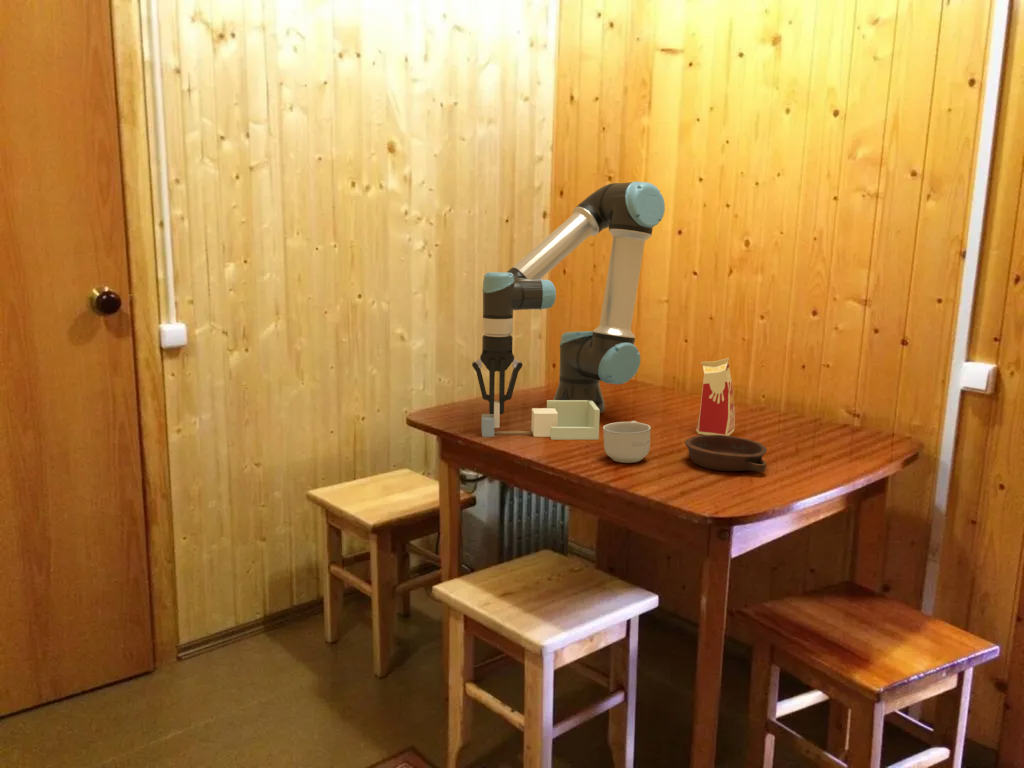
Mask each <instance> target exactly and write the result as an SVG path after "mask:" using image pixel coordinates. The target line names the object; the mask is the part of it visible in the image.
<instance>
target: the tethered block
mask: <svg viewBox="0 0 1024 768" xmlns="http://www.w3.org/2000/svg"><path fill="white" fill-rule="evenodd" d="M530 422H531V425H530V426H531V427H530V430H495V428H494V416H493V414H490V413H481V425H480V427H481V431H480V432H481V437H483V438H491V437H493V438H494V437H495V435H500V436H501V435H502V434H503V435H505V436H506V435H507V436H509V435H527V436H528V435H532V436H533V437H534V438H536V437H540V438H541V437H543V438H545V437H550V438H551V427H558V413H557V411H556V409H555V408H547V407H543V408H542V407H541V408H536V407H535V408H531V421H530Z"/></svg>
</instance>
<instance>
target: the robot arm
mask: <svg viewBox="0 0 1024 768" xmlns="http://www.w3.org/2000/svg"><path fill="white" fill-rule="evenodd" d="M665 205H666V204H665V200H664V197H663V195H662V193H661V191H660V189H659V188H658V187H657V186H656V185H655V184H653V183H651V182H647V181H632V182H630V181H629V182H618V183H617V182H612V183H607V184H605V185H603V186H602V187H600V188H598V189H597V190H595V191H594V192H592V193H591V194H590V195H588V196H587V197H586V198H584V200H582V201H581V202H580V203H579V204H578V205H576V206H575V207H574V208H573V210H572V215H570V217H568V218H567V219H566V220H565V221H564V222H563V223H562V224H560V225H559V226H558V227H556V228H555V229H554V230H553V231H552V232H551V233H550V234H549V235H548V236H546V237H545V238H544V239H543V240H542V241H540V243H539V244H537V245H536V246H535V247H533V248H532V249H531V250H530V251H529V252H528V253H527V254H526V255H525V256H524V257H522V258H521V259H520V260H519V261H517V262H516V263H515V264H514V265H513V266H512V267H510V269H508V270H507V271H506V272H504V271H489V272H486V273H485V274H484V276H483V282H482V291H481V292H482V333H483V334H484V335H482V344H481V345H482V348H481V349H482V350H481V354H480V356H479V357H480V358H478V359H477V360H473V361H472V362H471V365H472V368H473V369H474V371H475V373H476V377H477V381H478V384H479V388H480V393H481V397H482V399H483V401H487V402H488V412H489V413H488V414H493V416H494V429H499V428H500V423H501V422H500V421H501V420H500V417H501V415H504V413H505V403H506V402H507V401H508V400H509V401H510V400H511V399H512V398H513V395H514V394H513V393H514V389H515V385H516V382H517V379H518V375H519V372H520V370H521V369H522V368H523V362H522V361H519V360H518V359H516V358H515V355H514V354H513V339H514V338H513V335H511V334H513V332H514V325H513V324H514V311H519V310H521V311H522V310H525V311H526V310H539V311H542V310H546V309H551V308H552V307H553V305H555V302H556V298H557V295H556V294H557V291H556V290H557V289H556V286H555V285H554V283H553V282H552V281H551V280H549V279H543V278H544V277H545V276H546V275H547V274H549V272H550V271H552V270H553V269H554V268H555V267H556V266H557V265H559V263H561V262H562V261H563V260H564V259H566V257H567V256H569V255H570V254H571V253H572V252H573V251H574V250H575V249H576V248H578V247H579V246H580V245H581V244H582V243H583V242H584V241H585V240H587V239H588V238H589V237H591V236H592V237H595V236H597V235H598V234H599V233H600V232H602V231H603V230H606V229H608V232H609V233H610V235H611V236H612V242H611V249H610V255H609V263H608V267H607V274H606V275H607V276H606V281H605V288H604V294H603V300H602V308H601V314H600V319H599V320H600V321H599V325H598V326H597V327H596V328H595V329H593V330H584V331H567V332H563V333H562V334H561V336H560V342H559V348H560V349H559V375H558V376H559V378H558V379H559V380H558V386H557V389H556V390H555V394H554V397H553V399H552V400H592V401H593V402H594V403H595V405H596V406H597V407H598V408H599V410H600V414H602V413H603V412H605V404H606V403H605V401H604V397H603V392H602V389H601V385H600V382H604V383H605V384H612V385H624V384H625V383H628V382H629V381H630V380H631V379H632V378H634V377H635V375H636V374H637V372H638V370H639V368H640V364H641V353H640V352H639V349H638V348H637V347H636V345H635V343H636V335H635V334H634V333H633V332H632V324H633V319H634V311H635V306H636V300H637V291H638V287H639V280H640V275H641V274H640V273H641V268H642V262H643V256H644V248H645V243H646V241H647V240H649V239H650V238H651V237H652V236H653V235H652V234H653V230H654V227H657V225H658V224H660V222H661V221H662V219H663V218H664V215H665V212H666V211H665V210H666V209H665V208H666V206H665ZM482 364H483V365H484V366H485V368H486V369H487V371H489V376H488V377H489V378H488V379H489V381H488V382H489V385H488V387H489V388H488V393H487V389H486V385H485V382H484V378H483V374H482V370H481V369H482V368H483V367H482ZM511 364H512V365H511ZM510 365H511V366H512V368H513V369H512V371H511V375H510V379H509V382H508V383H509V384H508V386H507V390H506V393H505V388H506V387H505V386H506V385H505V381H506V380H505V378H506V371H507V370H508V368H509V367H510ZM496 372H499V378H498V379H499V381H498V400H495V386H496V385H495V378H496V376H495V375H496Z"/></svg>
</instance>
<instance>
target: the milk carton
mask: <svg viewBox="0 0 1024 768" xmlns="http://www.w3.org/2000/svg"><path fill="white" fill-rule="evenodd" d="M729 360H730V357H726V358H723V359H722V358H721V359H719V360H715V361H713V360H711V361H700V364H701V365H702V369H703V381H702V387H701V397H700V407H699V408H700V409H699V414H698V420H697V424H696V429H695V431H696V434H698V435H727V436H731V435H732V433H733V432H735V420H736V418H735V417H736V410H735V399H734V398H735V395H734V386H733V380H732V375H731V370H730V364H729Z"/></svg>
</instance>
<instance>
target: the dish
mask: <svg viewBox="0 0 1024 768" xmlns="http://www.w3.org/2000/svg"><path fill="white" fill-rule="evenodd" d="M684 444H685V446H686V447H687V450H688V454H689V456H690V458H691V460H692V462H693V463H694V464H696V465H698V466H700V467H702V468H705V469H708V470H713V471H721V472H745V471H753V472H758V473H762V472H765V471H766V467H767V462H765V461H764V460H763V459H762V458H763V456H764V455H765V454H767V450H768V449H767V447H766V446H765V445H764V444H762V443H760V442H758V441H755V440H752V439H749V438H744V437H739V436H733V435H729V436H727V435H703V434H698V435H694V436H691V437H689V438H687V439H686V440H685V441H684Z"/></svg>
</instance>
